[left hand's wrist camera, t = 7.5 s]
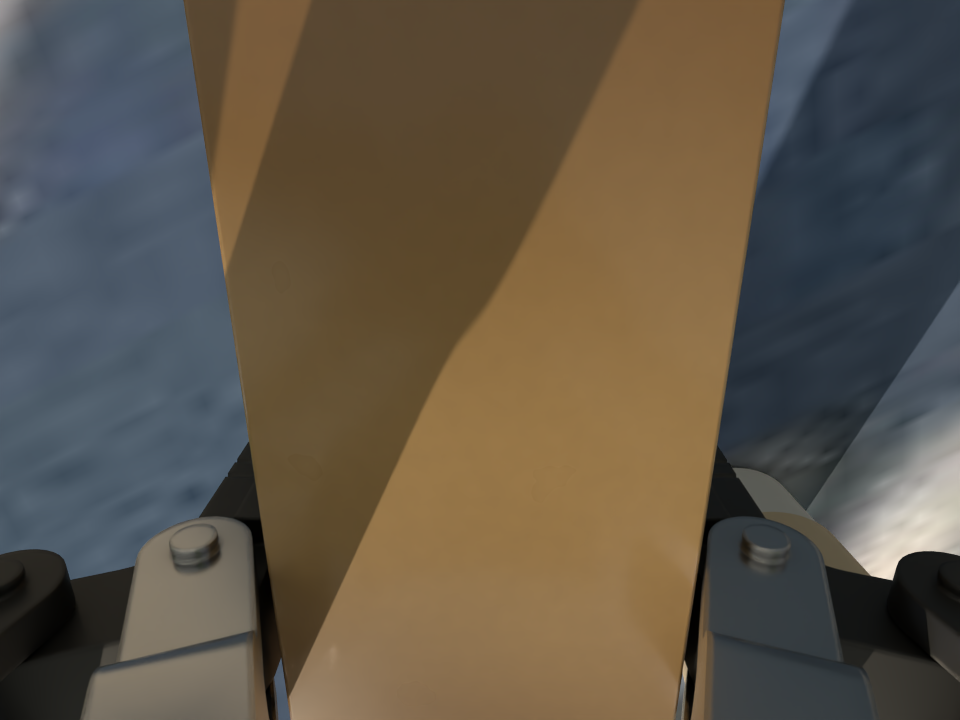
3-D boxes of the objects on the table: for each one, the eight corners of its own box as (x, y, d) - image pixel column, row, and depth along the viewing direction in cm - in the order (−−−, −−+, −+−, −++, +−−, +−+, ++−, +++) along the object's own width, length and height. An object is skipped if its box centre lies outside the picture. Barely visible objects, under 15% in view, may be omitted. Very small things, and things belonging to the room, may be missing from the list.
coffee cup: (858, 520, 32) (1131, 842, 18) (719, 629, 35) (866, 981, 21) (731, 411, 30) (929, 680, 16) (594, 536, 33) (665, 857, 19)
